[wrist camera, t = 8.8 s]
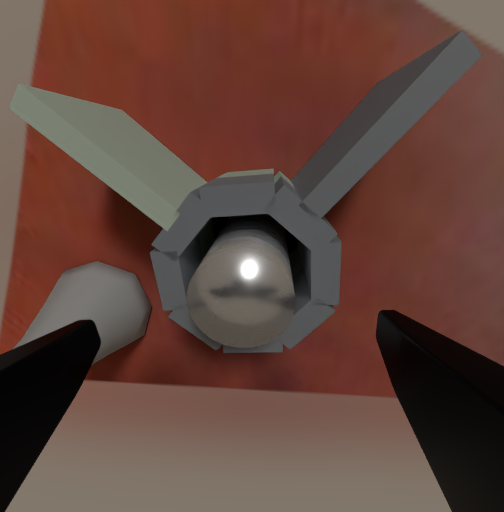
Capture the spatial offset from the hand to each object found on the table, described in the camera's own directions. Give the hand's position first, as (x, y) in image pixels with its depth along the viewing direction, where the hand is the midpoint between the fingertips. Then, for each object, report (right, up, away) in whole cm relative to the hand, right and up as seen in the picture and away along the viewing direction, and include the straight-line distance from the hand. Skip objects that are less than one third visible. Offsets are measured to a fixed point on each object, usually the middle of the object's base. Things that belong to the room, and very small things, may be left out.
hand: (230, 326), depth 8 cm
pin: (+1, +4, +10) cm, 11 cm away
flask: (-11, -1, +13) cm, 17 cm away
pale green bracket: (-2, +6, +9) cm, 11 cm away
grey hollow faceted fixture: (+3, +6, +9) cm, 11 cm away
